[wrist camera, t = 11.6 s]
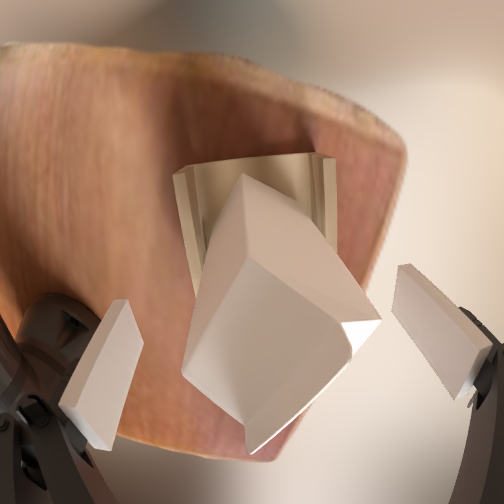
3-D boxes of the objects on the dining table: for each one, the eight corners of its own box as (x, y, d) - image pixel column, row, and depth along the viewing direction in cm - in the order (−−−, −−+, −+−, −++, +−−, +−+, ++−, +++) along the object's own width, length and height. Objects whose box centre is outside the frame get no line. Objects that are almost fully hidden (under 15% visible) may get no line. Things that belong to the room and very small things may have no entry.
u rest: (204, 273, 31) (197, 304, 26) (185, 165, 27) (172, 174, 21) (319, 260, 31) (335, 288, 26) (315, 152, 27) (335, 158, 21)
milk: (297, 201, 28) (424, 373, 8) (266, 253, 30) (314, 465, 10) (240, 171, 26) (255, 314, 6) (211, 227, 28) (169, 439, 8)
